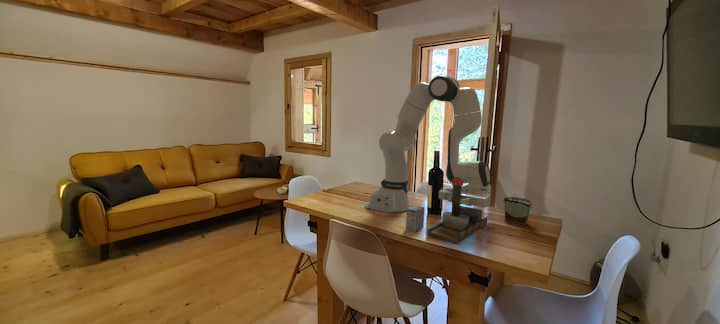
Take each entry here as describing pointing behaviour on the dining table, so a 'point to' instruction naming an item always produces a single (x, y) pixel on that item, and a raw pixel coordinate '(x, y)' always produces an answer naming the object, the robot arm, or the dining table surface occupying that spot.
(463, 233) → the press base
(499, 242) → the dining table surface
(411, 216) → the medicine box
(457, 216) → the red knob lever
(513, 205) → the food container
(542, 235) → the dining table surface
